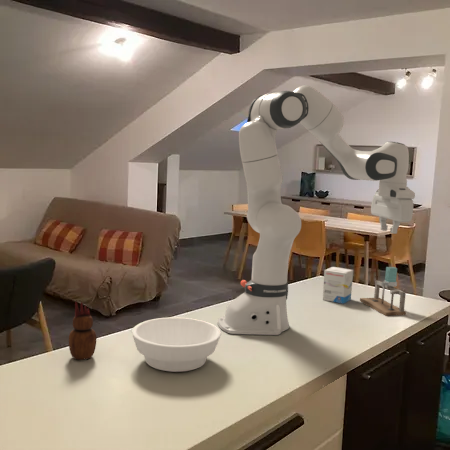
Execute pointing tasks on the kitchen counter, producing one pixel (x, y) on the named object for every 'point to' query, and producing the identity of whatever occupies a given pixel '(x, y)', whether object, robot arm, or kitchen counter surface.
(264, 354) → the kitchen counter surface
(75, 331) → the wooden figurine
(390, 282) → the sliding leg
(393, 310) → the board
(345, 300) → the ink box
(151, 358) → the bowl
